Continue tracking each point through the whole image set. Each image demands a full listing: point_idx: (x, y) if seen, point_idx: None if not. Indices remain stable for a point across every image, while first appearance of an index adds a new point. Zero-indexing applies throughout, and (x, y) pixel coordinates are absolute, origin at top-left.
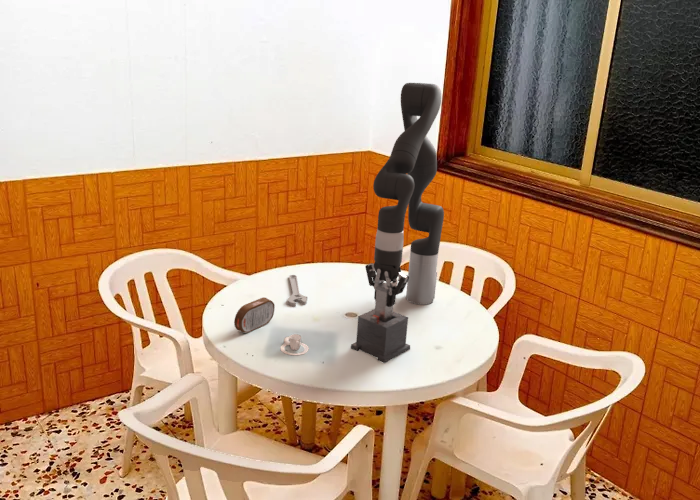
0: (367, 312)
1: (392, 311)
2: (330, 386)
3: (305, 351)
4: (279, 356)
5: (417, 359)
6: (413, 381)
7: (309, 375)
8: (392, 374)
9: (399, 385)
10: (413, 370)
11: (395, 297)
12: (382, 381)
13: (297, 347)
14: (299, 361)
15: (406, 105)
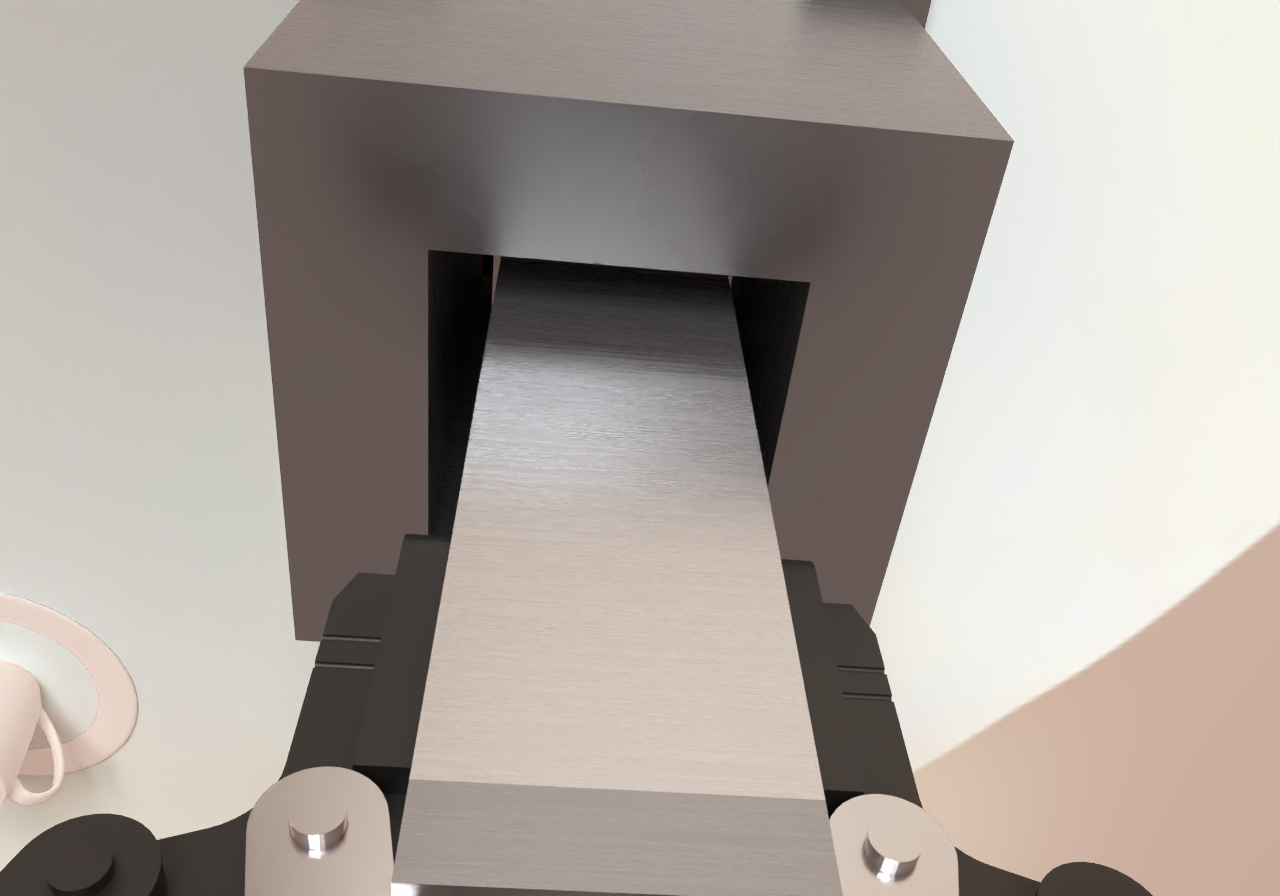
0: (291, 461)
1: (749, 404)
2: None
3: (111, 675)
4: (52, 817)
5: (1116, 108)
6: (1202, 509)
7: None
8: (978, 526)
9: (1103, 620)
10: (1145, 350)
11: (904, 754)
12: (947, 650)
13: (63, 759)
14: (222, 787)
15: None
